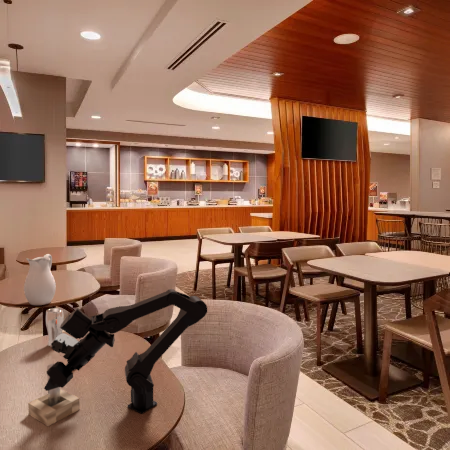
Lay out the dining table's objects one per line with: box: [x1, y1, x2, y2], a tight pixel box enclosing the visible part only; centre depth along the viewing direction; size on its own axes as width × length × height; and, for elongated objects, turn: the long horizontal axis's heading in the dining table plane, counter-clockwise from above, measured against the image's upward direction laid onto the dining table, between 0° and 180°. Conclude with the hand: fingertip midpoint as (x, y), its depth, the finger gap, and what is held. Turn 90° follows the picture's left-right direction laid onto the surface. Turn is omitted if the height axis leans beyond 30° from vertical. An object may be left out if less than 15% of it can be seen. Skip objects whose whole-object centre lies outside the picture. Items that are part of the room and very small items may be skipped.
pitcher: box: [23, 253, 57, 306], centre depth 226 cm, size 24×17×28 cm
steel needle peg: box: [46, 363, 61, 407], centre depth 110 cm, size 3×3×14 cm
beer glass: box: [45, 307, 65, 348], centre depth 161 cm, size 7×7×15 cm
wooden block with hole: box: [27, 388, 81, 427], centre depth 111 cm, size 10×10×4 cm
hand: (54, 381), depth 110 cm, fingers open, 9 cm apart
